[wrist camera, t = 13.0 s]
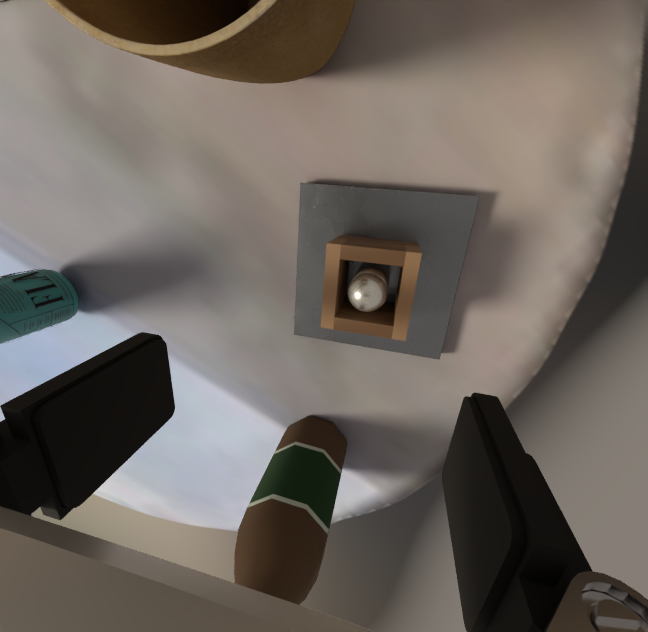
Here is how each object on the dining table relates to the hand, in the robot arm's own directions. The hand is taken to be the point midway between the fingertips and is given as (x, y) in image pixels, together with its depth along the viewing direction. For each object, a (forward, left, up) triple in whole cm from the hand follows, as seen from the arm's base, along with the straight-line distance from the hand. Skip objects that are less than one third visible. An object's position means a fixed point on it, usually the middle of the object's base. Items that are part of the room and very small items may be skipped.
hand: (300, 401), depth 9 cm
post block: (0, +1, -20) cm, 20 cm away
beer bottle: (+21, -3, -21) cm, 30 cm away
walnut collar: (0, +1, -19) cm, 19 cm away
